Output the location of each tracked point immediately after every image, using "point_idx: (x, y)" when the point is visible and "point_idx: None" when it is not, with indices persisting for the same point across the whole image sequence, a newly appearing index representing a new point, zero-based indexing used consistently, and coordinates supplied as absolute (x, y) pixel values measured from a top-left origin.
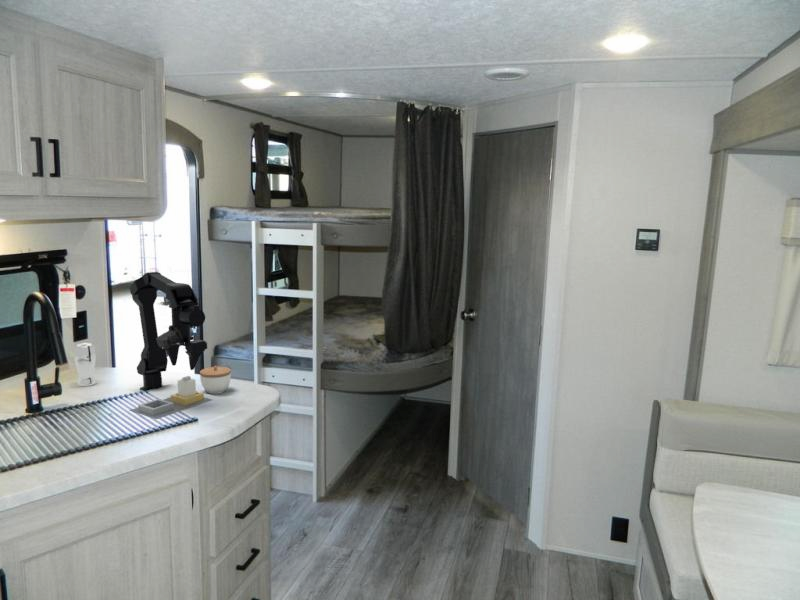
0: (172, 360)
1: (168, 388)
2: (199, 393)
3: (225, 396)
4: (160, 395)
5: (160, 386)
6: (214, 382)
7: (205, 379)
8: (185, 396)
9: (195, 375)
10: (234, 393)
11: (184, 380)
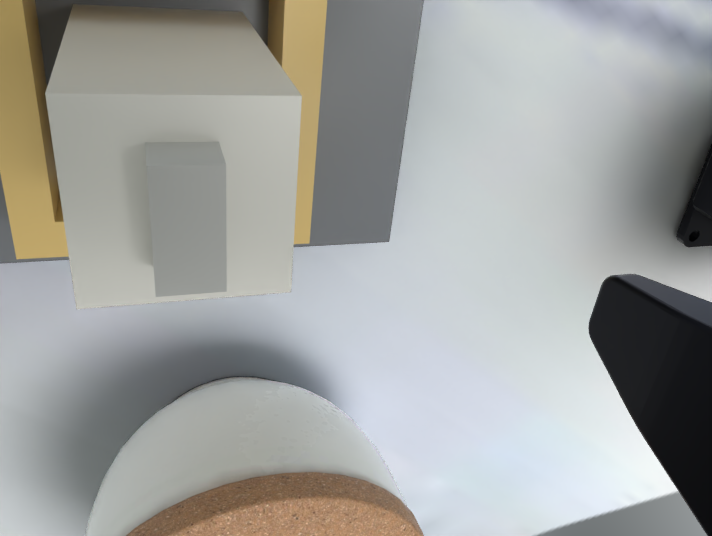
0: (705, 343)
1: (646, 244)
2: (58, 226)
3: (14, 419)
4: (600, 79)
5: (708, 194)
6: (125, 482)
7: (232, 456)
8: (82, 23)
9: (631, 496)
10: (30, 500)
11: (151, 147)
